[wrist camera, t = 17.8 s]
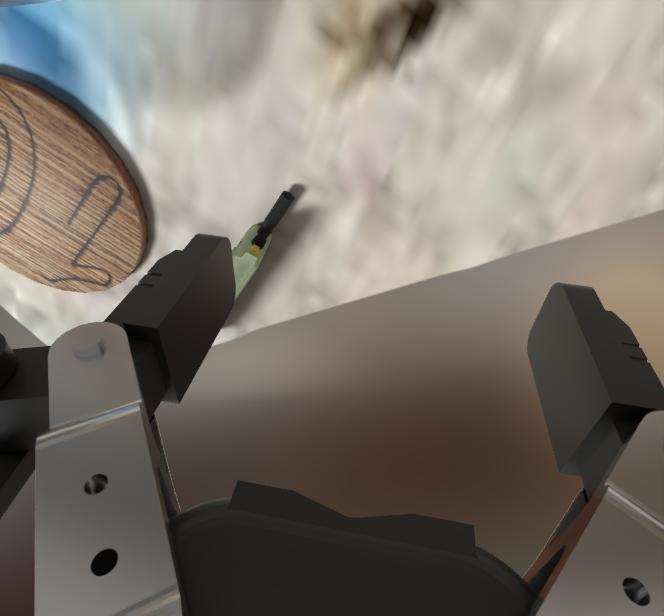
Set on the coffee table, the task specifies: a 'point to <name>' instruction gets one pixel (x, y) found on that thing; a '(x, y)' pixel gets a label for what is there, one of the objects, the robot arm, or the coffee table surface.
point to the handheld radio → (257, 243)
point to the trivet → (64, 195)
